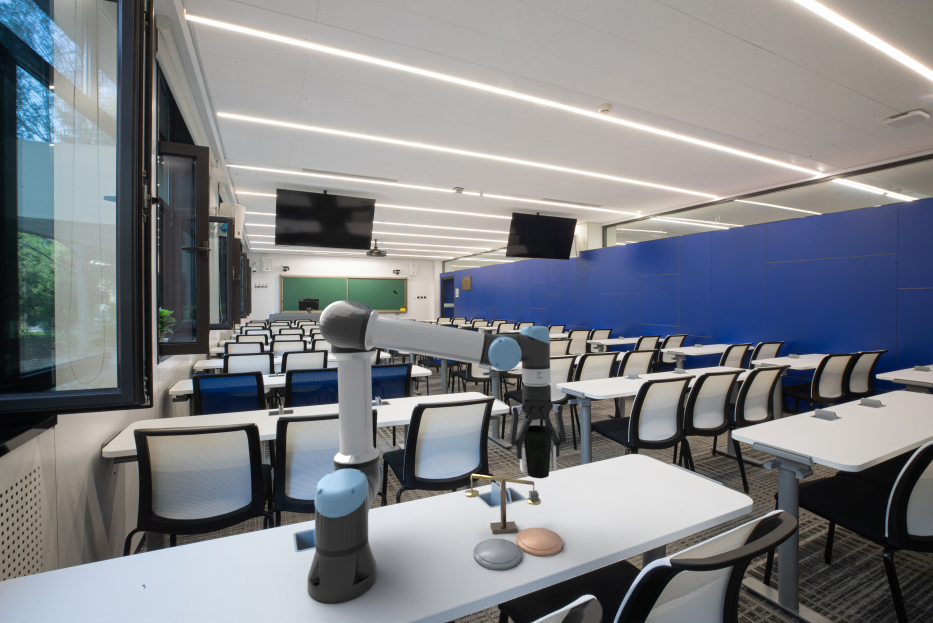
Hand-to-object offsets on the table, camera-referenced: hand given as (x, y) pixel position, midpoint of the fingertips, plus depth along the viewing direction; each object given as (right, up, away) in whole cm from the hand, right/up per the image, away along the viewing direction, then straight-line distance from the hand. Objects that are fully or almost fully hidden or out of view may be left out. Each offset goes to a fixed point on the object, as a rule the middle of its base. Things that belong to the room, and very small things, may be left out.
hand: (538, 469), depth 107 cm
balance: (-8, -19, +7) cm, 22 cm away
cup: (0, -1, 0) cm, 1 cm away
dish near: (-11, -19, -6) cm, 23 cm away
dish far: (0, -19, 0) cm, 19 cm away
